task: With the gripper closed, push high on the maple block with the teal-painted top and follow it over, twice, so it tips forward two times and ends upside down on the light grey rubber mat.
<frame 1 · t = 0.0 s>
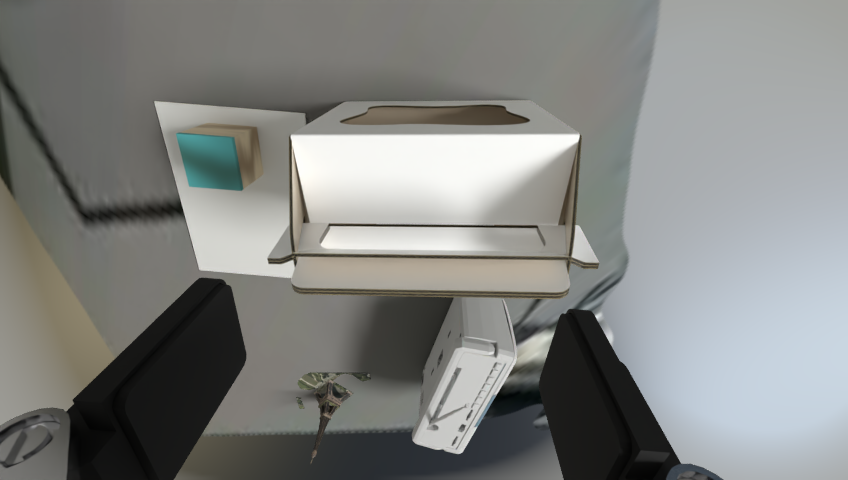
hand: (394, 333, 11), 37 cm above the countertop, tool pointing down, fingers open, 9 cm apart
block: (236, 149, 46), resting on mat
eiffel tower figurine: (334, 388, 68), on the countertop
mat: (246, 200, 49), on the countertop
stereo radio cassette player: (457, 335, 59), on the countertop
gable box: (436, 156, 45), on the countertop
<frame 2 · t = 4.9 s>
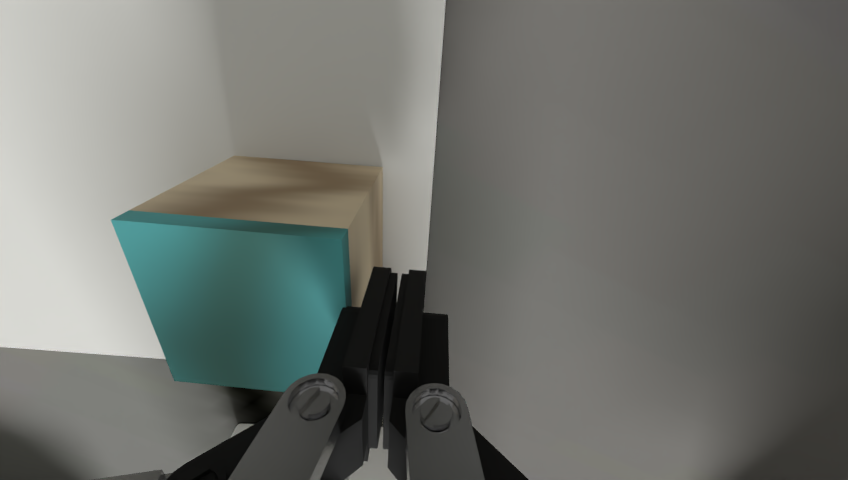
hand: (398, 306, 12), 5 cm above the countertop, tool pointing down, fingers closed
block: (314, 228, 16), resting on mat, touching gripper
mat: (161, 213, 16), on the countertop
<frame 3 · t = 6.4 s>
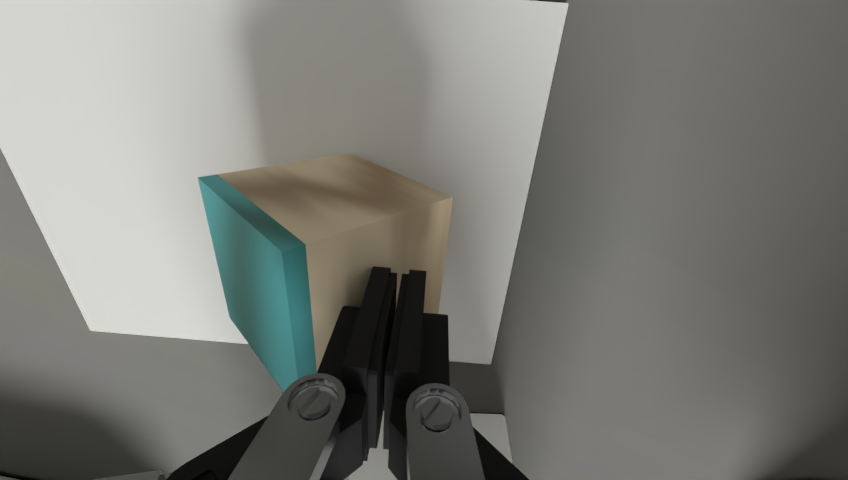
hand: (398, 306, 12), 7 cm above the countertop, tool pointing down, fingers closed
block: (392, 240, 16), point 2 cm above the countertop, tilted 43°, touching gripper, mat
mat: (271, 206, 18), on the countertop
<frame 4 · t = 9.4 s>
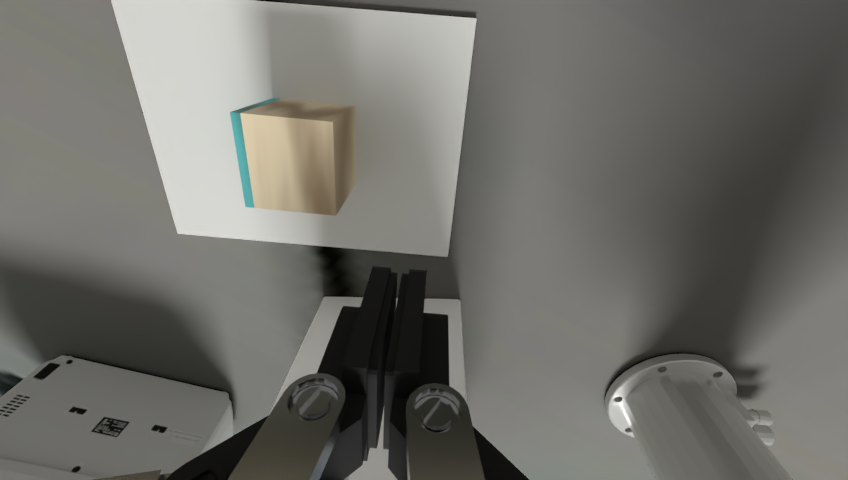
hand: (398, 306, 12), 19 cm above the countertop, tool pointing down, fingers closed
block: (345, 158, 25), point 3 cm above the countertop, tilted 90°, touching mat
mat: (304, 142, 28), on the countertop
stereo radio cassette player: (152, 387, 43), on the countertop
gable box: (396, 374, 40), on the countertop
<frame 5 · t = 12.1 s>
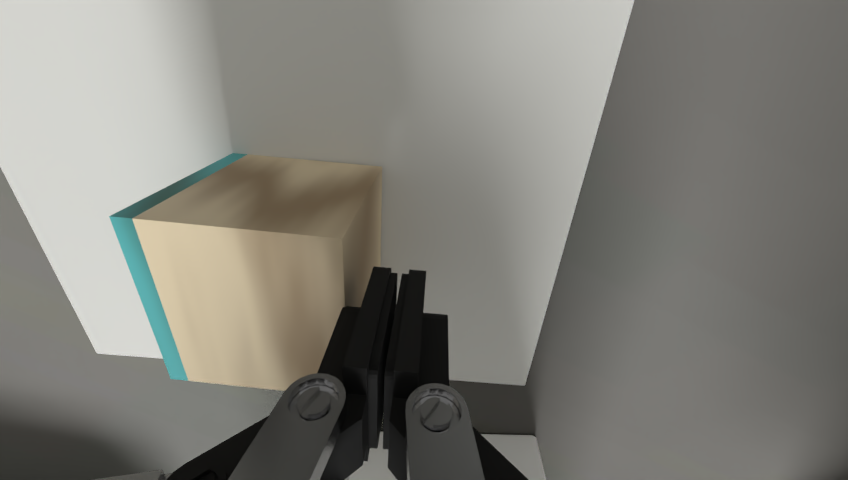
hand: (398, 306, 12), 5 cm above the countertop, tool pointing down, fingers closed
block: (367, 271, 13), point 3 cm above the countertop, tilted 91°, touching gripper, mat
mat: (293, 222, 16), on the countertop
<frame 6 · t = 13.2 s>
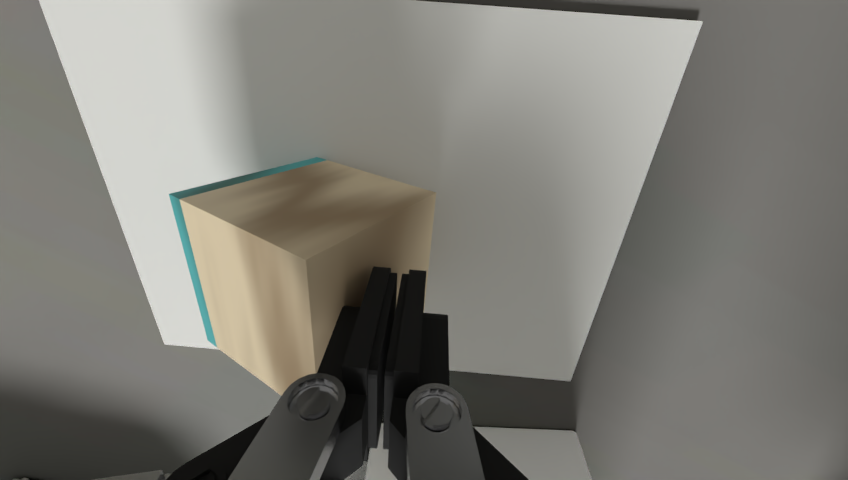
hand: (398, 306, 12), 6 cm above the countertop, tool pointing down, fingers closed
block: (382, 300, 12), point 6 cm above the countertop, tilted 119°, touching gripper, mat
mat: (364, 222, 17), on the countertop
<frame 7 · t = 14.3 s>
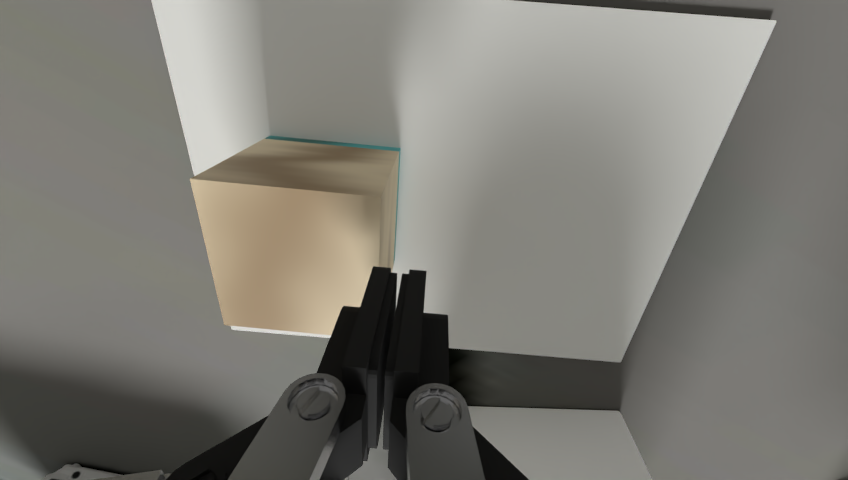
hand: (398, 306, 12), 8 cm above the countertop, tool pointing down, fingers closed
block: (293, 268, 13), point 6 cm above the countertop, tilted 180°, touching mat
mat: (438, 210, 18), on the countertop
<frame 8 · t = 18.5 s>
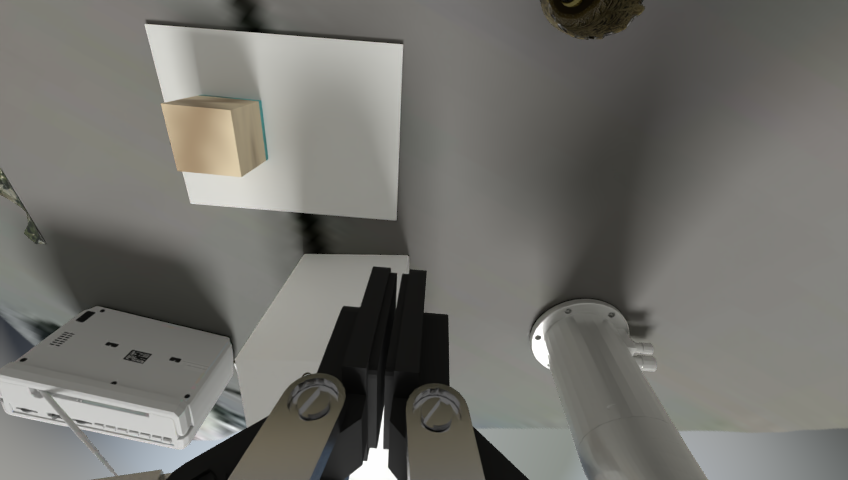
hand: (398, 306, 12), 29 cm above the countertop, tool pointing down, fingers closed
block: (202, 141, 33), point 6 cm above the countertop, tilted 180°, touching mat
mat: (285, 132, 38), on the countertop
stereo radio cassette player: (167, 334, 53), on the countertop
gable box: (364, 320, 50), on the countertop
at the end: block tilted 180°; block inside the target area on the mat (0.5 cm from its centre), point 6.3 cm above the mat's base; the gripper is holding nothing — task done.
